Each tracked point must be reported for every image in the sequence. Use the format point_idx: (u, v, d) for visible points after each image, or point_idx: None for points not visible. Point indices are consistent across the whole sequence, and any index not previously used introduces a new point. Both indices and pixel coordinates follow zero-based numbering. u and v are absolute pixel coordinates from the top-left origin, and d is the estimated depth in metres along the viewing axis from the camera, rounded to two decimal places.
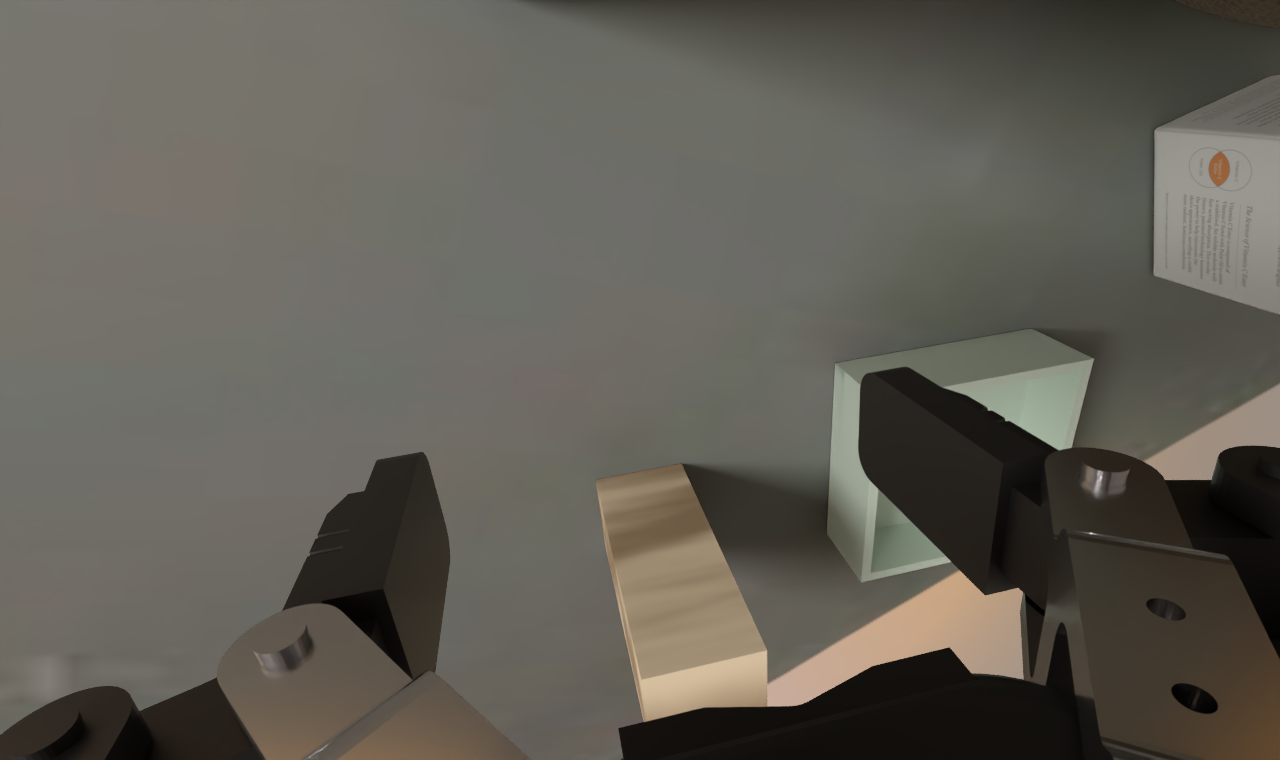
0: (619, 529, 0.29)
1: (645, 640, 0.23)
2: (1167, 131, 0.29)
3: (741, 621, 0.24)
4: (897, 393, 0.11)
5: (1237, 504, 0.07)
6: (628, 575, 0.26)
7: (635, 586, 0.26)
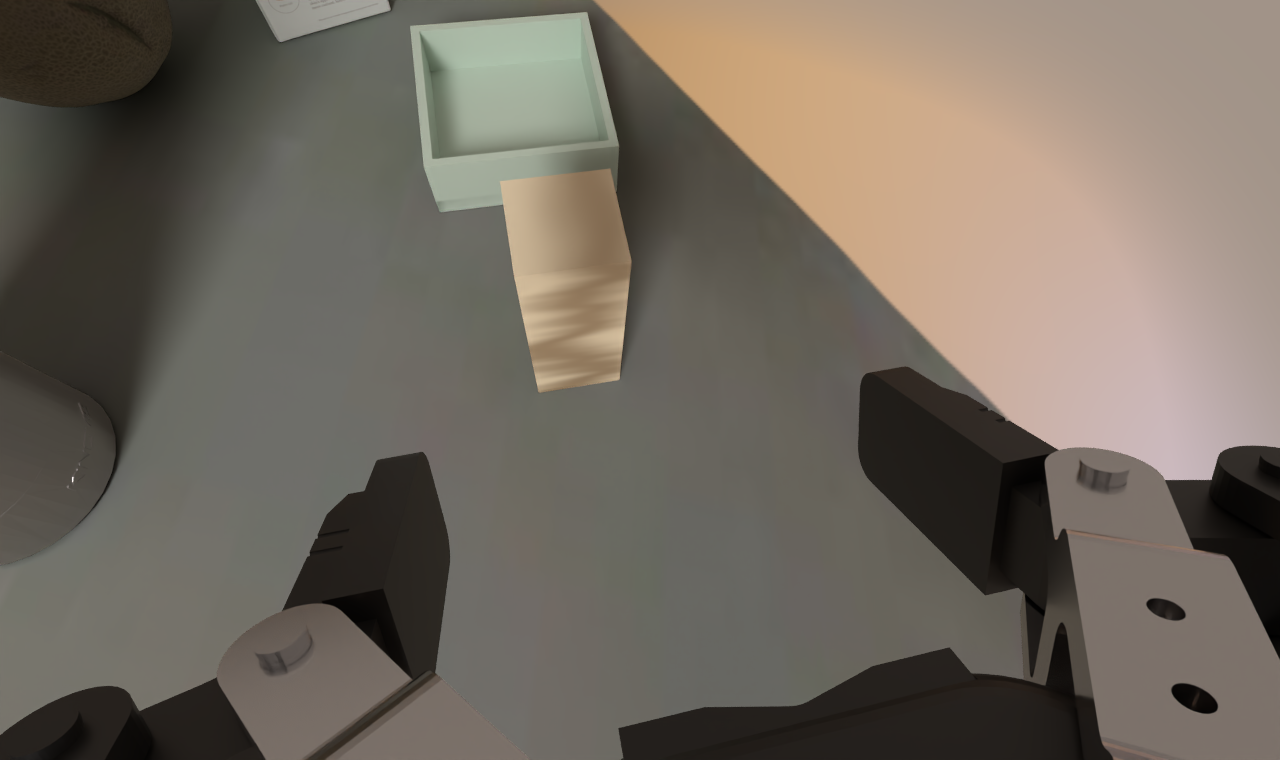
0: None
1: None
2: (275, 33, 0.43)
3: None
4: (897, 393, 0.11)
5: (1237, 504, 0.07)
6: None
7: None
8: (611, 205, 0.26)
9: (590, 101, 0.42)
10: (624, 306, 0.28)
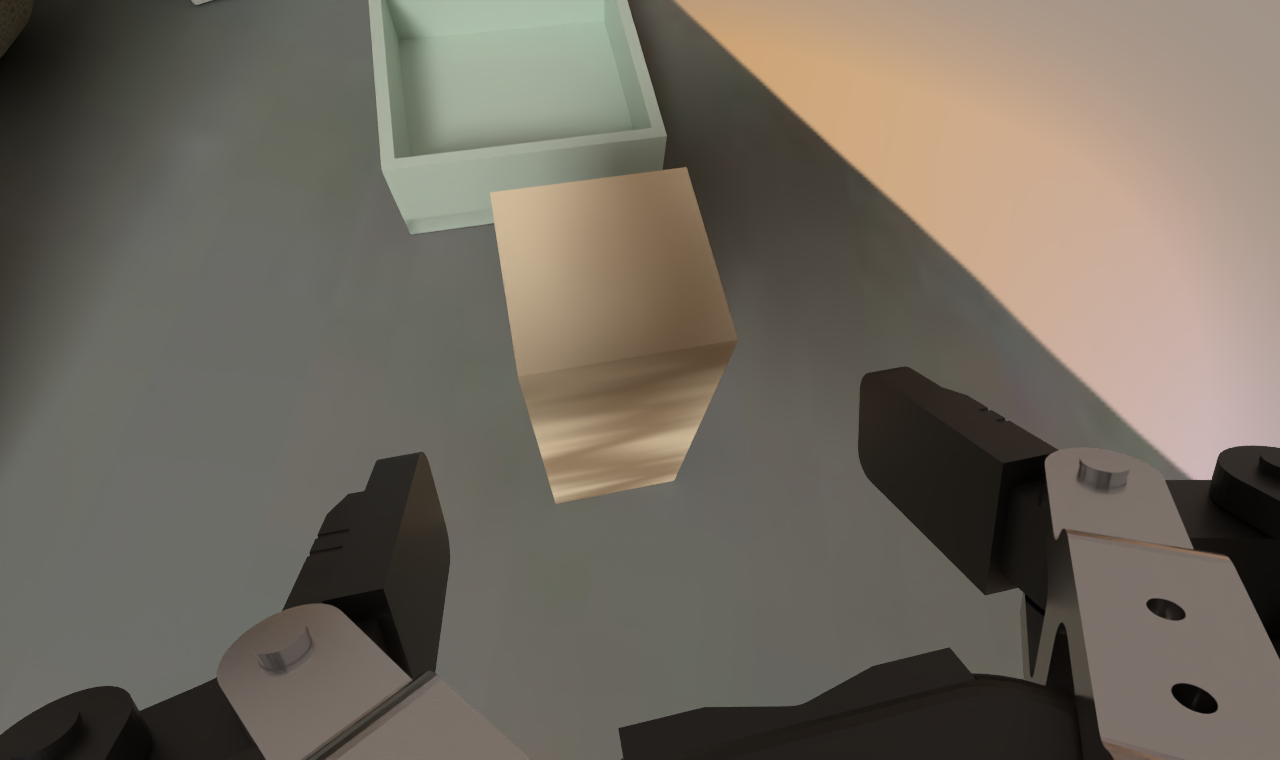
0: None
1: None
2: None
3: None
4: (897, 393, 0.11)
5: (1237, 504, 0.07)
6: None
7: None
8: (693, 233, 0.14)
9: (618, 77, 0.30)
10: (706, 402, 0.16)
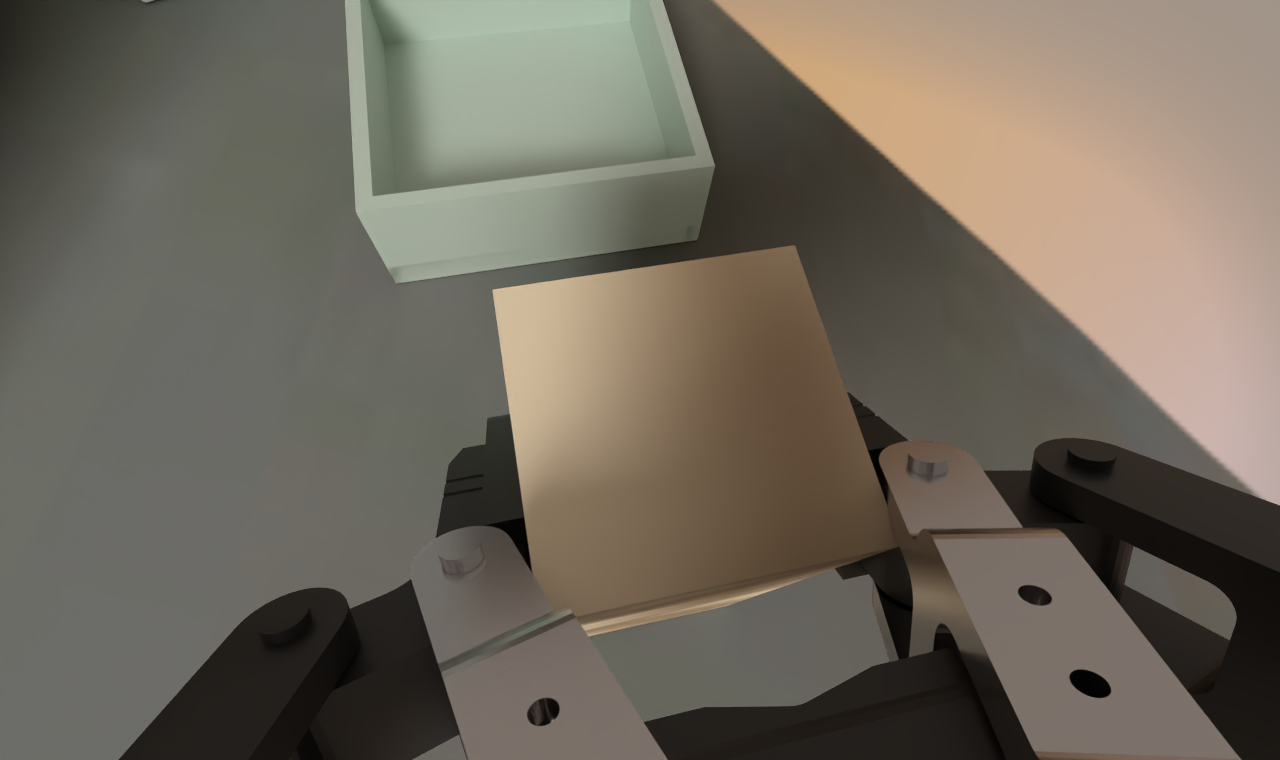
0: None
1: None
2: None
3: None
4: None
5: (1060, 500, 0.08)
6: None
7: None
8: (813, 356, 0.09)
9: (648, 89, 0.25)
10: (807, 577, 0.11)
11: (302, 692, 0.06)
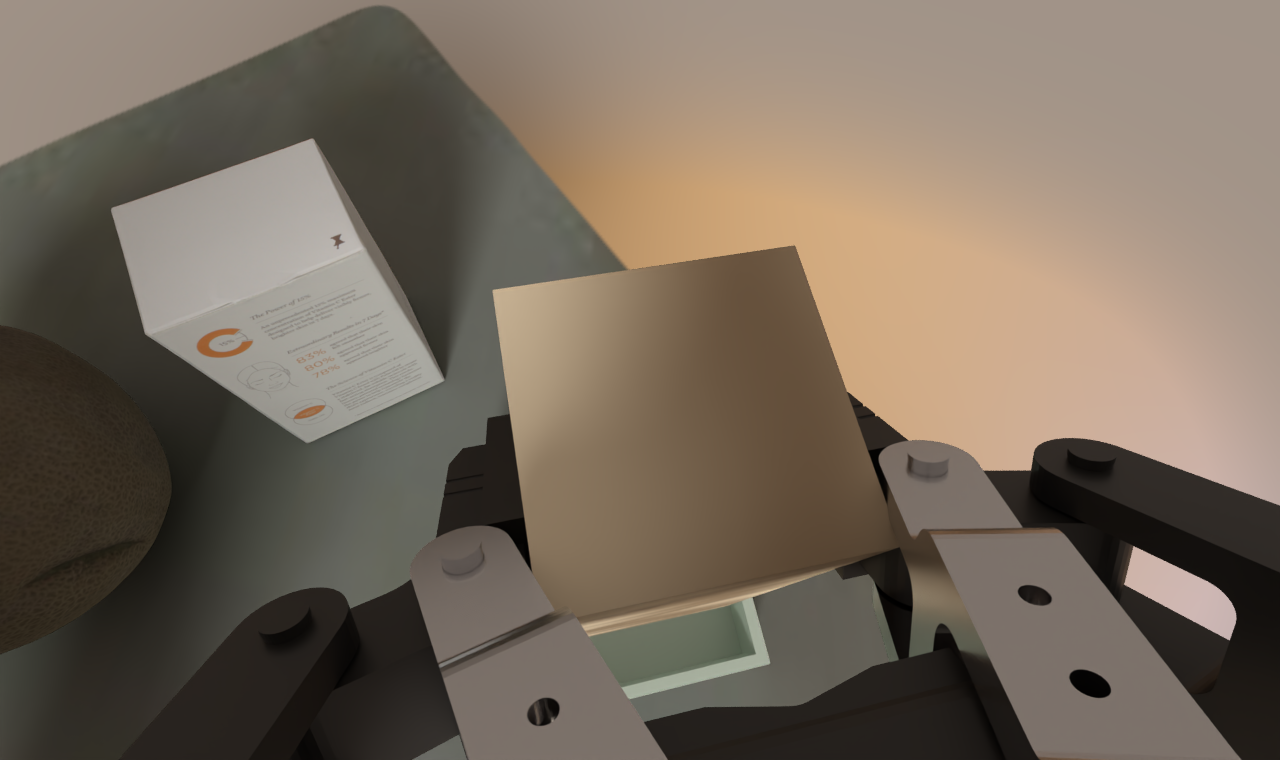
0: None
1: None
2: (302, 439, 0.33)
3: None
4: None
5: (1060, 500, 0.08)
6: None
7: None
8: (813, 357, 0.09)
9: None
10: (807, 577, 0.11)
11: (303, 692, 0.06)
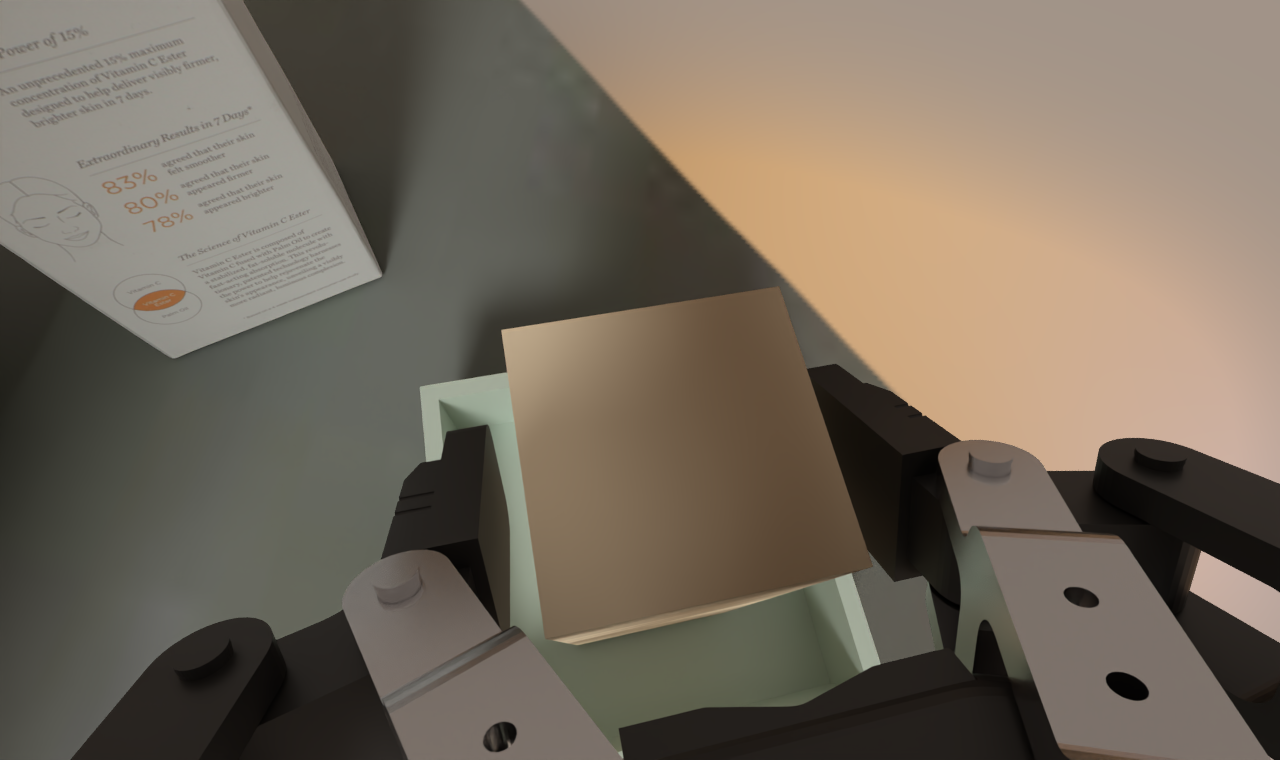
0: None
1: None
2: (161, 351, 0.22)
3: None
4: (821, 389, 0.11)
5: (1122, 498, 0.08)
6: None
7: None
8: (795, 391, 0.10)
9: None
10: (793, 590, 0.12)
11: (228, 725, 0.06)
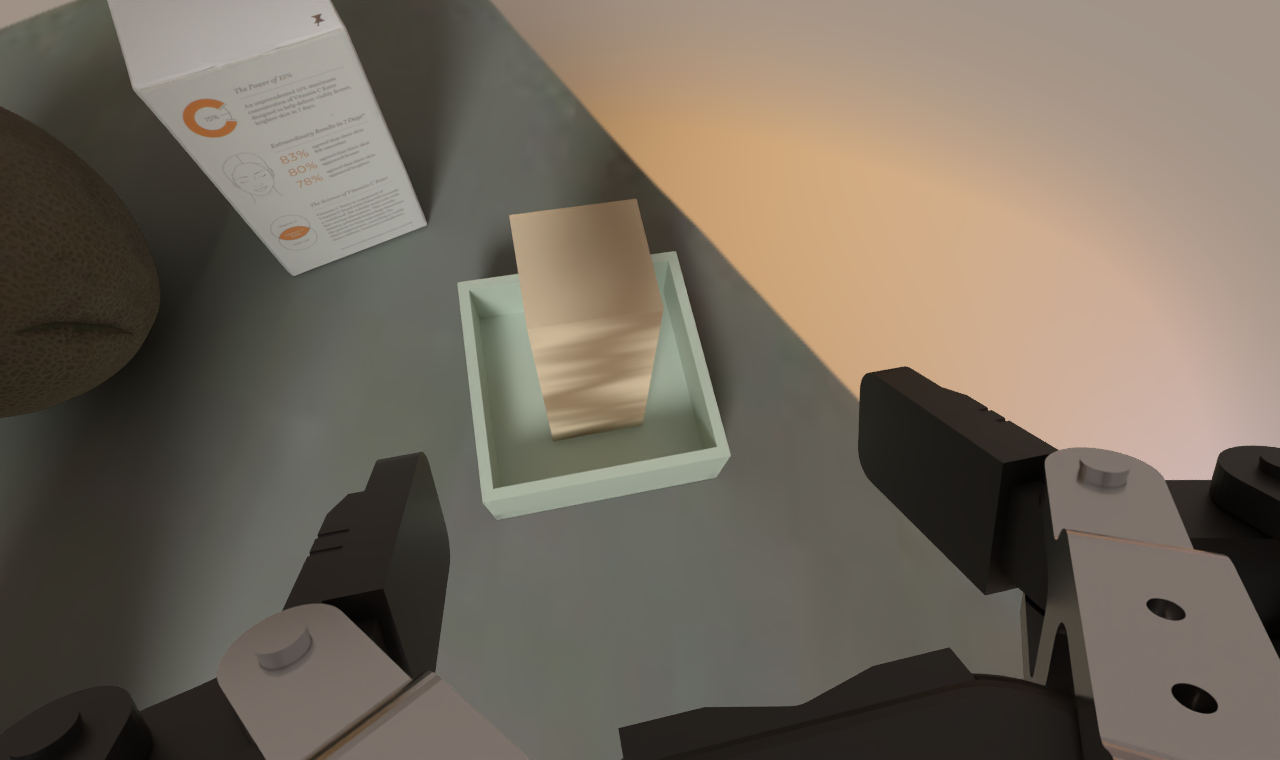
0: None
1: None
2: (288, 269, 0.35)
3: None
4: (897, 393, 0.11)
5: (1237, 504, 0.07)
6: None
7: None
8: (638, 242, 0.22)
9: (678, 354, 0.34)
10: (652, 354, 0.24)
11: None
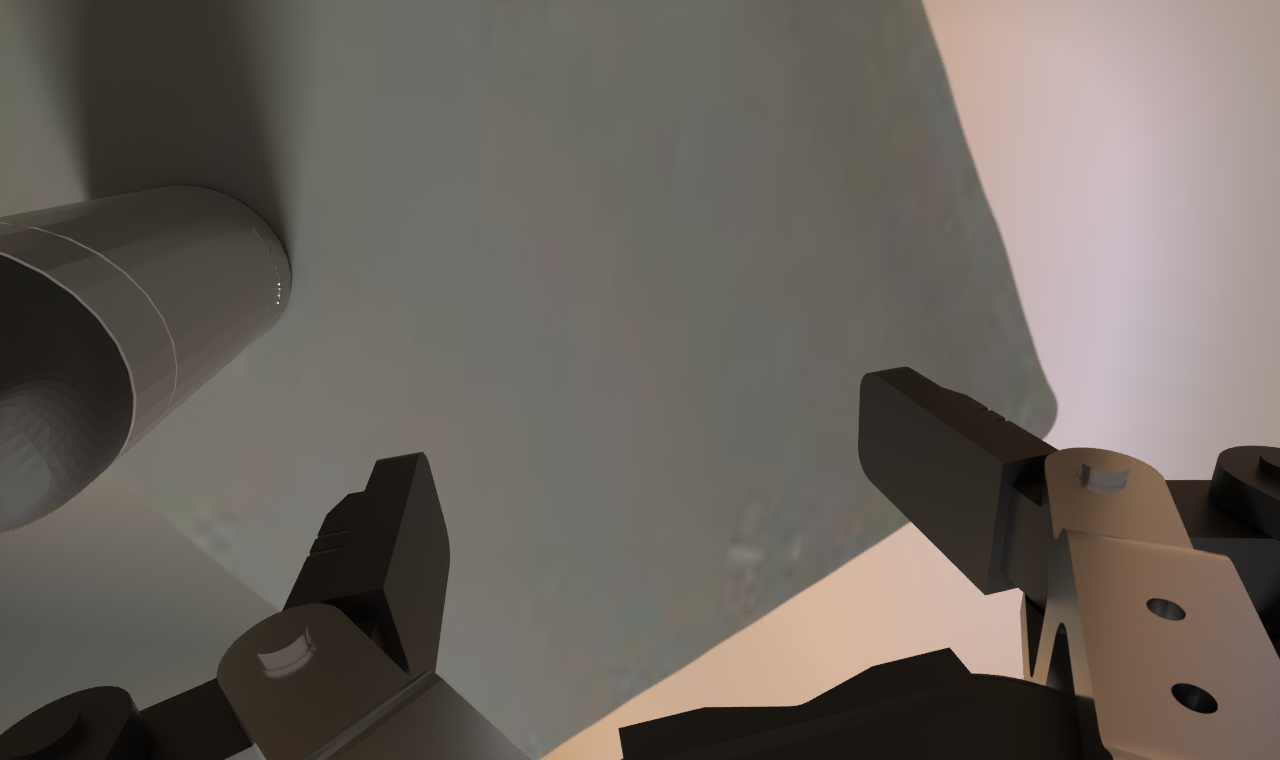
0: None
1: None
2: None
3: None
4: (897, 393, 0.11)
5: (1237, 504, 0.07)
6: None
7: None
8: None
9: None
10: None
11: None
